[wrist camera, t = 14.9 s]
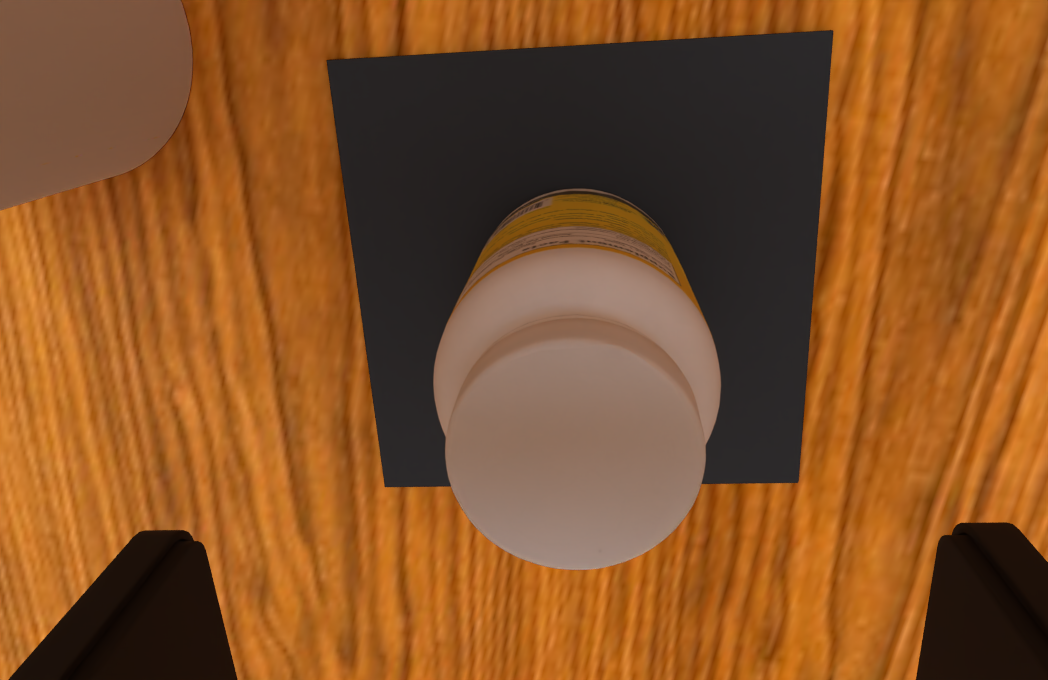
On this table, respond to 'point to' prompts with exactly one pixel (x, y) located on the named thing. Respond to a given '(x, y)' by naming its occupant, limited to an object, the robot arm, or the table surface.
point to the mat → (605, 165)
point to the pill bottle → (577, 384)
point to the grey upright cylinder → (87, 90)
